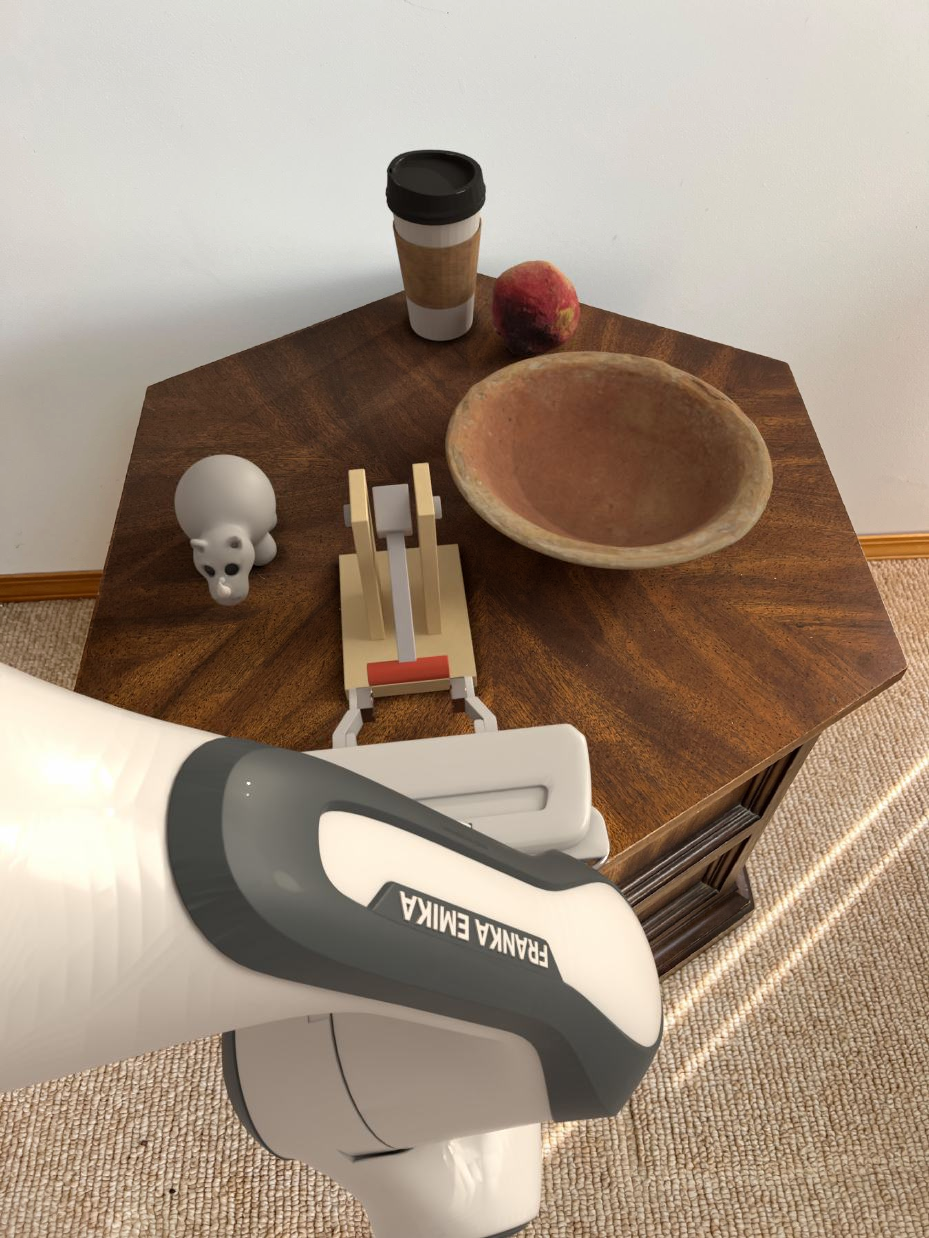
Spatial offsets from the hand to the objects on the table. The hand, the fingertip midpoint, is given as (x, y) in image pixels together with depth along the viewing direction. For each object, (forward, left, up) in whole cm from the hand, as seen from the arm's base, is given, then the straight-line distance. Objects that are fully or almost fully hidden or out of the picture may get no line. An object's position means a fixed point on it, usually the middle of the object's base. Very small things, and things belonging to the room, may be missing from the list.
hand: (410, 686), depth 60 cm
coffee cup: (+6, +43, -5) cm, 44 cm away
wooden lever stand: (0, +8, -5) cm, 10 cm away
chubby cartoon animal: (-12, +15, -5) cm, 20 cm away
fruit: (+14, +38, -5) cm, 41 cm away
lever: (0, +5, +4) cm, 6 cm away
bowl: (+16, +17, -5) cm, 24 cm away
